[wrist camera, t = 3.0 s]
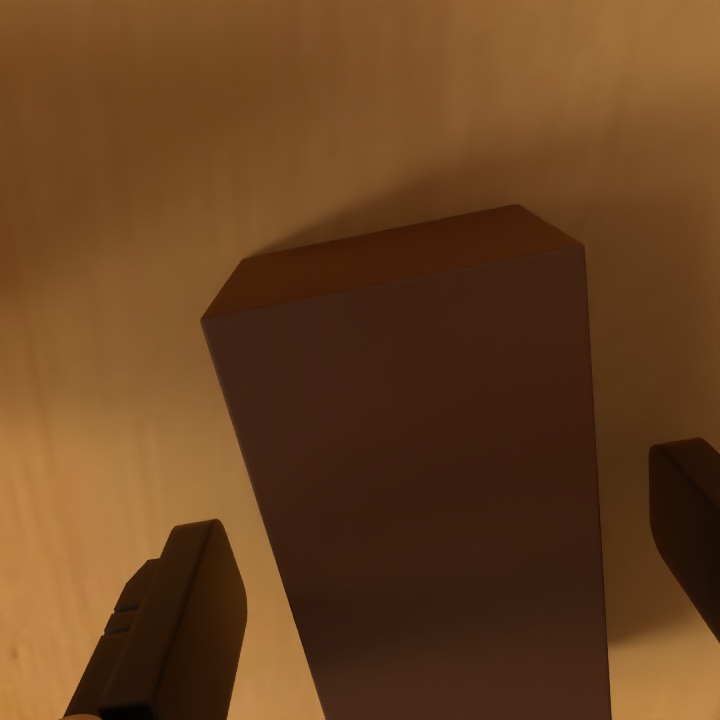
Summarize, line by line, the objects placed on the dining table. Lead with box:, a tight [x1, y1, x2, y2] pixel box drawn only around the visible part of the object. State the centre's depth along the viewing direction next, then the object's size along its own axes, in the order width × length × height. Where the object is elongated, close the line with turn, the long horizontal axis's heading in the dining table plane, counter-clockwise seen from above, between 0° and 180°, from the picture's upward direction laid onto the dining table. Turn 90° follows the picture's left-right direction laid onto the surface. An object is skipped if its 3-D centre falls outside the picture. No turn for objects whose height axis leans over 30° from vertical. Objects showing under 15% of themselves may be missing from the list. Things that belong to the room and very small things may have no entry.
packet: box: [200, 204, 612, 720], centre depth 10 cm, size 10×4×3 cm, turn 11°
